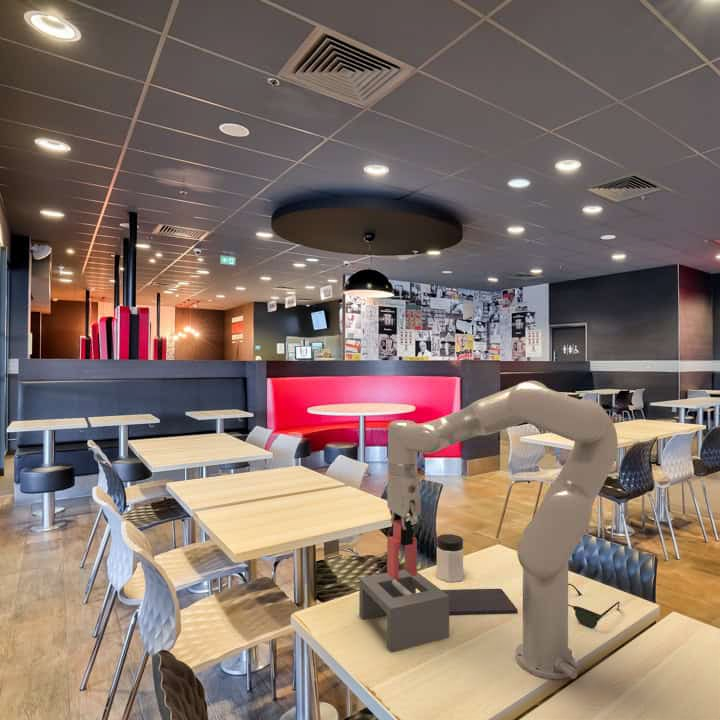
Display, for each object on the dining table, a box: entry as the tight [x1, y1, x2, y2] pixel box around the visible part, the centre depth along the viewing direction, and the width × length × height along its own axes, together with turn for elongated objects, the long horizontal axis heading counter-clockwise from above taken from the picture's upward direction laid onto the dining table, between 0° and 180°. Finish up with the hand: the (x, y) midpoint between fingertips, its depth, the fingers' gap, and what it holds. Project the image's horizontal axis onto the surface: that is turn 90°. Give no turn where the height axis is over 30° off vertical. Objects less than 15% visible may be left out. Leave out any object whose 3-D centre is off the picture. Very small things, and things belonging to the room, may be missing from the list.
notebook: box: [441, 588, 519, 616], centre depth 136 cm, size 13×2×21 cm
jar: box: [436, 533, 464, 583], centre depth 154 cm, size 9×8×12 cm
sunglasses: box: [568, 583, 621, 630], centre depth 132 cm, size 16×17×5 cm
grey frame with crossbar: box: [358, 569, 450, 653], centre depth 124 cm, size 18×16×10 cm
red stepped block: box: [386, 519, 418, 580], centre depth 124 cm, size 4×6×13 cm, turn 114°
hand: (402, 540), depth 124 cm, fingers closed on red stepped block, 4 cm apart
